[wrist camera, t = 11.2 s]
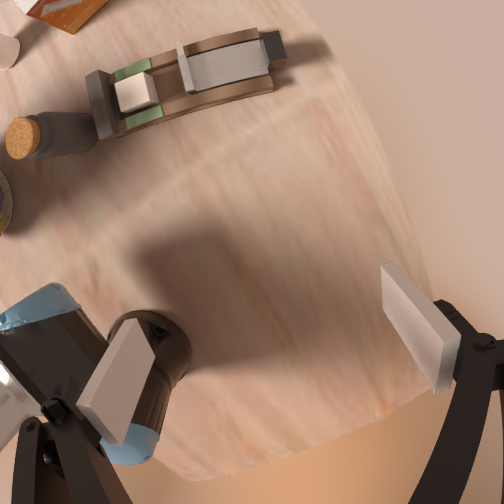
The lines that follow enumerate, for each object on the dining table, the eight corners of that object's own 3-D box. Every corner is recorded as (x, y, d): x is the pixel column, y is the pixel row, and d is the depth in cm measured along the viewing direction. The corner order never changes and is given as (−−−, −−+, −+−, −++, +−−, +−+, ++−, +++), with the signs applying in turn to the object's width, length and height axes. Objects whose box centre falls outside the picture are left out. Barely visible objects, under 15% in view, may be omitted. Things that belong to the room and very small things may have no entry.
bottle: (62, 143, 39) (-4, 153, 25) (76, 107, 37) (11, 105, 23) (89, 158, 40) (27, 173, 26) (105, 121, 38) (44, 121, 24)
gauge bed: (118, 138, 39) (99, 139, 34) (104, 81, 36) (84, 76, 31) (272, 91, 37) (275, 84, 32) (256, 32, 34) (256, 17, 28)
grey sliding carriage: (191, 95, 36) (181, 89, 31) (179, 48, 34) (168, 36, 28) (283, 72, 35) (288, 63, 30) (269, 25, 33) (272, 10, 27)
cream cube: (132, 113, 37) (120, 111, 33) (126, 87, 36) (114, 83, 32) (159, 103, 37) (149, 100, 33) (152, 76, 35) (142, 71, 32)
